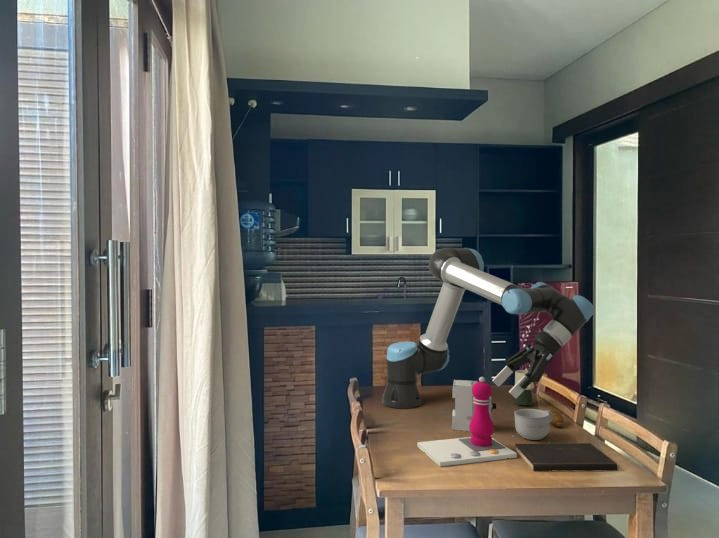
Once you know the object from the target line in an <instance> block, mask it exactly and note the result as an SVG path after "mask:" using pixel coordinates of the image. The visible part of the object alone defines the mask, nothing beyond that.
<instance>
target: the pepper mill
mask: <svg viewBox="0 0 719 538" xmlns="http://www.w3.org/2000/svg"><path fill="white" fill-rule="evenodd" d="M472 394H473V395H474V398H473V399H474V401H473V402H474V403H475V411H474V414H473V417H472V419H471V421H470V425H469V430H470V431H469V432H470V433H471V436H470V437H471V443H472V444H474V445H476V446H490V445H491V444H492V438H493V437H492V435H493V434H494V432H495V428H494V423H493V421H492V416H491V417H490V414H489V404H490V398H489V397H490V396H491V397H492V395H493V389H492V386H491V384H489V383H488V382H486V378H485V377H484V376H480V377H479V378H478V381H477V383H475V384H474V385H473V387H472Z"/></svg>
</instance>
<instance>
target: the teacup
mask: <svg viewBox="0 0 719 538" xmlns="http://www.w3.org/2000/svg"><path fill="white" fill-rule="evenodd" d="M513 414H514V427H515V432H517V434H518V435H519V436H521V438H523V439H525V438H526V440H531V441H538V440H543V439H544V438H545V437H546V436H548V435H549V432H550V424H549V423H550V422H551V421H552V418H553V415H552V412H551V411H548V410H542V409H538V408H537V409H534V408H522V409H517V410H515V411H514V413H513Z"/></svg>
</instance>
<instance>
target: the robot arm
mask: <svg viewBox="0 0 719 538" xmlns="http://www.w3.org/2000/svg"><path fill="white" fill-rule="evenodd" d="M428 269H429V273H430V274H431V275H432V276H433V277H434V278H435V279H437V280H439V281H440V282H442V285H441V289H440V292H439V294H438V297H437V300H436V302H435V305H434V308H433V311H432V313H431V316H430V319H429V322H428V325H427V328H426V331H425V333H424V334H421V335H420V336H419V339H418V342H417V343H416V342H414V341H399V342H395V343H391V344H390V345H389V346H388V347H387V351H386V385H385V389H384V392H383V394H382V399H381V400H382V401H381V404H382V405H383V406H385V407H389V408H394V409H412V408H413V407H414V408H417V406H418V407H419V406H421V405H422V397H421V394H420V390H419V387H418V383H417V381H418V375H423V374H428V373H429V374H430V373H436V372H439V371H441V370H443V369H445V368H446V367H447V365H448V364H449V362H450V356H451V355H450V354H449V353H450V350H449V345H448V343H447V339H448V337H449V334H450V331H451V329H452V326H453V323H454V320H455V318H456V316H457V313H458V310H459V307H460V304H461V301H462V299H463V296H464V294H465V291H467V290H468V291H469V292H472V293H474V294H476V295H479V296H481V297H483V298H485V299H487V300H489V301H491V302H494V303H496V304H497V305H501V306H502V307H503V309H504V310H505V312H507V313H508V314H511V315H517V316H519V315H520V316H521V315H524V314H525V315H526V314H533V313H534V314H535V313H543V312H545V313H547V314H548V315H549V316H551V317H553V318H552V319H551V320H550V321H549V322H548V323H547V324H546V325H545V326H544V327H543V329H542V330H541V331H540V332H539V333H537V335H536V336H535V337H534V338H533V341H534V343H535V344H534V345H531V343H528V344H527V345H526V346H525V347H523V348H522V349H521V350H520V351H518V352H516V353H515V354H513V355H512V356H511V357H509V358H508V359H507V360H505V366H504V368H503V369H501V371H500V372H498V373H497V374H496V376H495V377H494V378H493V379H492V380H491V381H492V382H493V383H494V384H495V385H496V386H497V387H498V388H499V387H500V386H502V385H503V384H504V382H505V381H507V379H508V378H509V377H510V376H511V375H512V374H514V373H515V370H517V369H518V368H520V367H522V366H524V365H526V364H527V363H530V366H529V368H528V373H526V374H525V375H526V376H527V377H526V376H523V377H522V378H521V379H520V380H519V382H518V383H517V384H516V385H515V384H514V386H512V387H511V389H510V390H509V391H508V393H509V394H511V395H512V397H513V398H514V399H516V398H517V397H518V396H519V395H520V394H521V393H522V392H523V391H524V390H525V389H526V388H527V387H528V386H529V385H530V384H531V383H532V382H534V383H535V382H536V383H539V382H540V381H541V379H542V377H543V375H544V373H545V371H546V370H547V369H548V366H549V364H550V363H551V362H552V361H553V359H554V358H555V355H557V353H558V352H559V351H561V349H562V347H564V345H566V343H569V342H570V339H572V337H574V335H575V334H576V333H577V332H579V330H580V329H581V328H582V327H583V326H584V325H585V324H587V322H588V321H589V320H590V318H591V317H592V316H594V314H595V311H596V310H595V306H594V305H593V304H592V303H591V301H589V300H588V299H587V298H585V297H584V296H582V295H580V294H576V295H574V296H572V297H571V298H570V297H569V296H566V295H565V294H564V293H562V292H561V291H559V290H557V289H556V288H554V287H553V286H552V285H550V284H547V283H545V282H543V281H538V282H536V283H534V284H533V285H532V286H531V287H530V288H525V287H522V286H519V285H517V284H514V283H512V282H510V281H507V280H506V279H502V278H500V277H497V276H495V275H492V274H490V273H487V272H485V271H484V269H485V263H484V260H483V256H482V255H481V253H480V252H478V251H477V250H476V249H473V248H468V247H463V248H461V247H460V248H458V247H457V248H452V247H443V248H440V249H437V250H436V251H434V252H433V253H432V254H431V256H430V258H429V261H428ZM414 408H413V409H414Z"/></svg>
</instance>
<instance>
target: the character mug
mask: <svg viewBox="0 0 719 538" xmlns="http://www.w3.org/2000/svg"><path fill="white" fill-rule="evenodd" d="M528 371H529V369H528V370H526V369H518V370H517V369H516V370H514V386H515V385H516V384H517V383H518V382H519V380H520V379H521V378H522V377H523V376H526V375H525V374H526V373H528ZM526 377H527V376H526ZM534 388H535V382H532V383H531V384H530V385H529V386H528V387H527V388H526V389H525V390H524V391H523V392H522V393H521V394H520V395H519V396H518V397H517V398H515V399H516V400H515V404H516V405H519V406H525V407H527V406H533V403H534V402H533V394H532V390H533V389H534Z"/></svg>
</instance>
